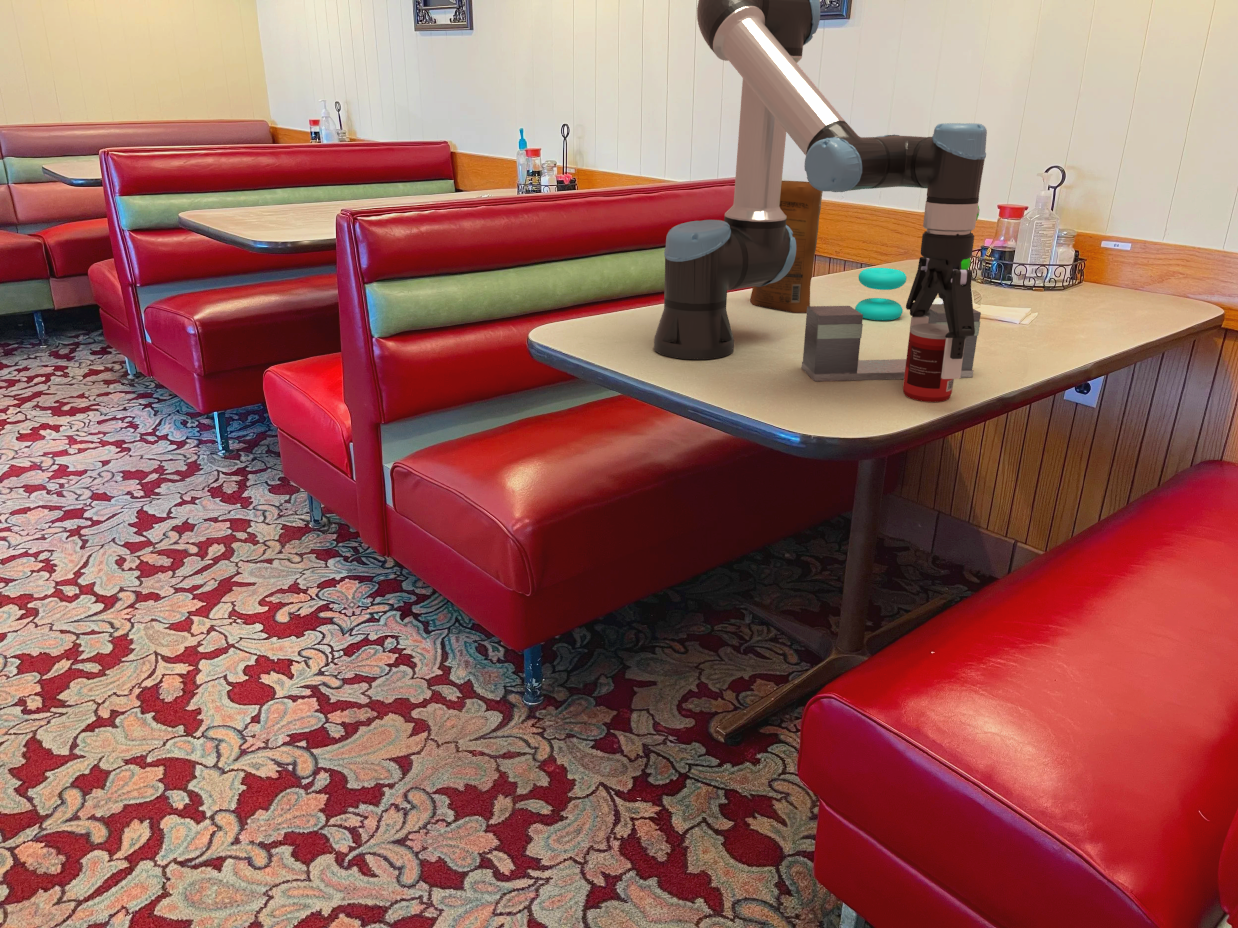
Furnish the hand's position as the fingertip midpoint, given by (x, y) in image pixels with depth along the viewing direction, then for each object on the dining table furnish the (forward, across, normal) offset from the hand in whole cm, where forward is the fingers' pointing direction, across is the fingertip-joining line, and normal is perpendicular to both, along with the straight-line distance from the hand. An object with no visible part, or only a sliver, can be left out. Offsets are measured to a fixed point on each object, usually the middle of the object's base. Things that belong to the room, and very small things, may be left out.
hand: (932, 366), depth 149 cm
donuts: (+4, +55, -12) cm, 57 cm away
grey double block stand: (+5, +13, +2) cm, 14 cm away
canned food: (+5, 0, 0) cm, 5 cm away
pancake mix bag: (+4, +65, +8) cm, 66 cm away
